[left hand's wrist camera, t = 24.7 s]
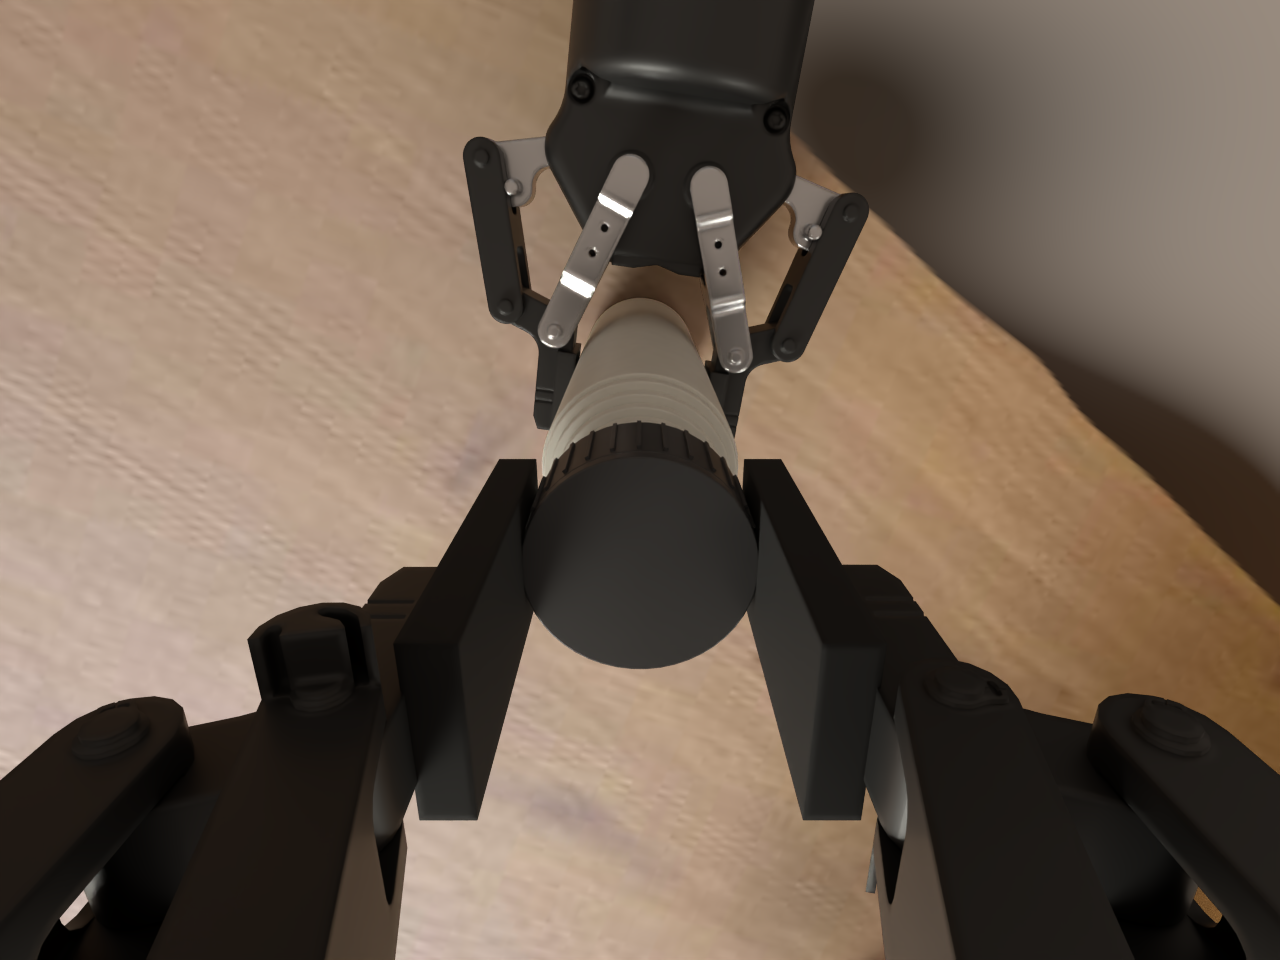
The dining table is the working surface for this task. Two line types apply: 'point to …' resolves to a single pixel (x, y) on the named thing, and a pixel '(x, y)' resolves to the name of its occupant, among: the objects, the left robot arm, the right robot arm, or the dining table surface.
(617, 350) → the bottle
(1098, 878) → the left robot arm
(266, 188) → the dining table surface
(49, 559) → the dining table surface
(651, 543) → the cap
